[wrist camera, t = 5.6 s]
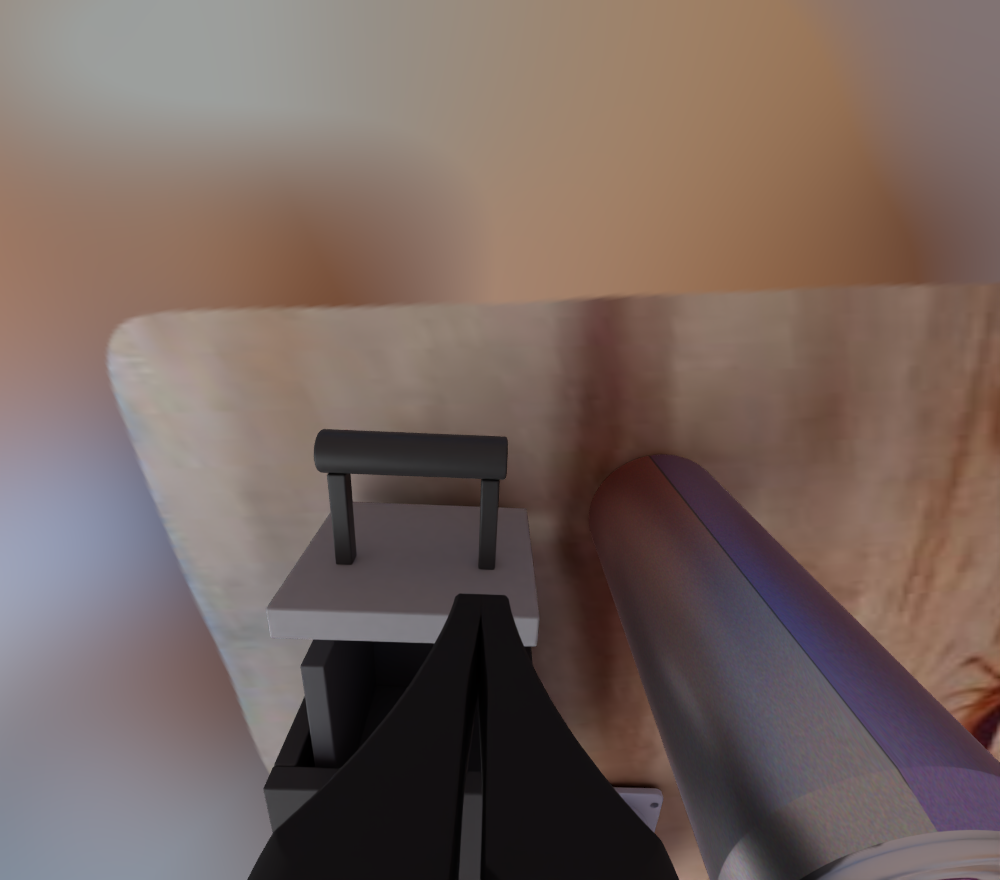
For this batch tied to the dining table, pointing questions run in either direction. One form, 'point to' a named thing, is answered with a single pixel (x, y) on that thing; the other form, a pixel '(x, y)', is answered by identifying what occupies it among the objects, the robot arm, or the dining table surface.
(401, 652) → the drawer
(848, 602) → the dining table surface
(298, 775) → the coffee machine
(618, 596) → the beverage can
